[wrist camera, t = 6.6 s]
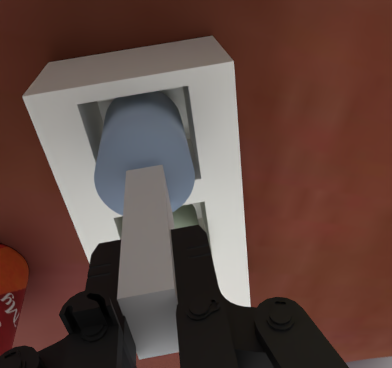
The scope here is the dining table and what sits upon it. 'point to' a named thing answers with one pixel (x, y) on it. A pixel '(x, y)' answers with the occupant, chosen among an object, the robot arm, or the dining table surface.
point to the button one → (143, 147)
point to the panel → (193, 126)
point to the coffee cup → (11, 293)
